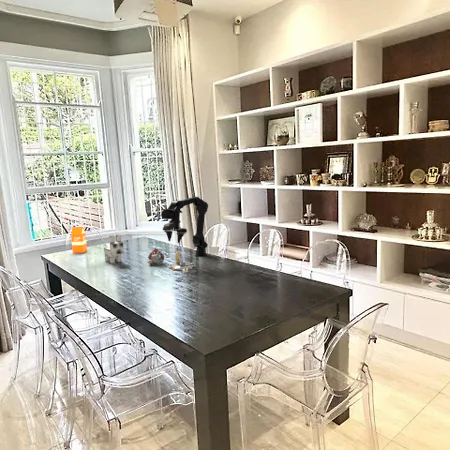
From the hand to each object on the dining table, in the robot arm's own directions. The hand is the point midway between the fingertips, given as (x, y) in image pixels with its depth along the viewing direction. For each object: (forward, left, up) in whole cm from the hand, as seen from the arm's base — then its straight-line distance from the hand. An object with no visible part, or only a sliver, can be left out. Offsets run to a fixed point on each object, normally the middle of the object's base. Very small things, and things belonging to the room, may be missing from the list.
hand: (173, 242), depth 265 cm
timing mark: (+9, +22, -15) cm, 28 cm away
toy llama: (+25, -38, -15) cm, 48 cm away
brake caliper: (+9, -9, -15) cm, 20 cm away
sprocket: (+3, +12, -15) cm, 19 cm away
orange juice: (+25, -92, -15) cm, 96 cm away
